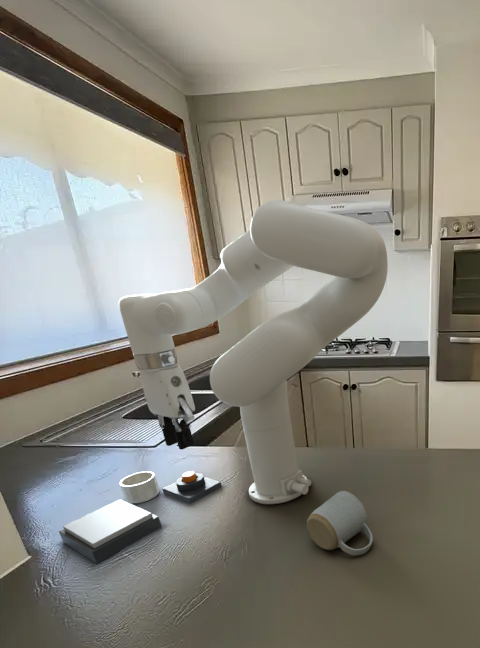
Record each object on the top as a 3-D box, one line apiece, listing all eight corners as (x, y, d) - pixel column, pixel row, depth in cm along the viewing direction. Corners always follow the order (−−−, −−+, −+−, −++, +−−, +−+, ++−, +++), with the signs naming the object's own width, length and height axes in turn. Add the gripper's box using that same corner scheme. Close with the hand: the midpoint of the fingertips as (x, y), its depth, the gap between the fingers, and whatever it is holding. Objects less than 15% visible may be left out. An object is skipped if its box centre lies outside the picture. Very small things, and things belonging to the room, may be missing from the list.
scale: (162, 527, 81) (157, 512, 80) (97, 564, 72) (90, 547, 71) (126, 511, 88) (121, 496, 87) (63, 542, 79) (56, 526, 78)
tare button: (199, 478, 94) (197, 472, 93) (188, 484, 91) (186, 477, 91) (191, 476, 95) (190, 469, 94) (180, 481, 93) (178, 475, 92)
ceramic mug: (306, 544, 73) (300, 506, 70) (338, 521, 78) (333, 485, 75) (353, 567, 66) (349, 526, 63) (384, 540, 72) (381, 501, 69)
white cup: (166, 493, 94) (160, 475, 92) (136, 508, 89) (130, 489, 87) (149, 486, 98) (143, 469, 96) (120, 500, 92) (113, 482, 91)
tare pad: (222, 487, 95) (219, 475, 94) (190, 504, 89) (187, 491, 87) (194, 478, 100) (191, 466, 99) (163, 493, 94) (160, 481, 93)
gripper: (199, 358, 81) (219, 445, 88) (151, 354, 90) (173, 433, 97) (163, 367, 76) (188, 459, 83) (116, 362, 85) (142, 445, 92)
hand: (180, 444), depth 90 cm, fingers open, 3 cm apart
